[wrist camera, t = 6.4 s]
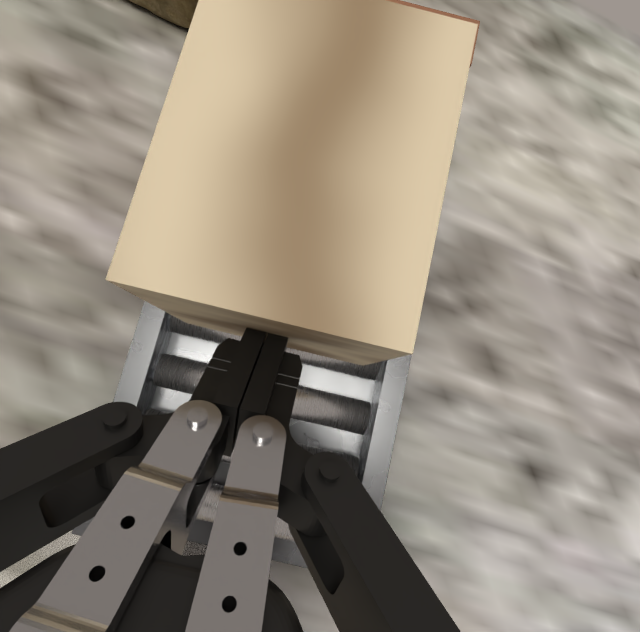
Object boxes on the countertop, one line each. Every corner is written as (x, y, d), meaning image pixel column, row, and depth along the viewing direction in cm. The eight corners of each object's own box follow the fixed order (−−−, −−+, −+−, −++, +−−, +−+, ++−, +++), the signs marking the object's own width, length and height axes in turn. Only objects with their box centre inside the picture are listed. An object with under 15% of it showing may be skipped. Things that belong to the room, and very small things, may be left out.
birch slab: (187, 323, 18) (105, 279, 10) (245, 123, 20) (213, -45, 12) (362, 365, 19) (412, 354, 11) (406, 163, 20) (477, 24, 12)
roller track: (103, 511, 19) (-3, 584, 12) (238, 68, 23) (214, -64, 16) (353, 569, 20) (384, 671, 13) (445, 120, 24) (506, 12, 17)
